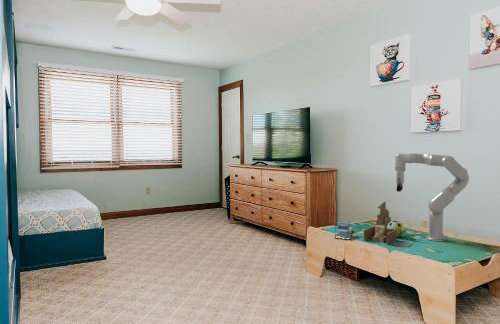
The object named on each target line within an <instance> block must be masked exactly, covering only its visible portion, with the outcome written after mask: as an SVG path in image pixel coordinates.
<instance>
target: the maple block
mask: <svg viewBox="0 0 500 324" xmlns="http://www.w3.org/2000/svg"><path fill="white" fill-rule="evenodd" d="M384 231H385V226H381V225H377V226H376V225H375V237H380V238H382V237H384Z"/></svg>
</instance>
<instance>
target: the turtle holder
mask: <svg viewBox="0 0 500 324" xmlns="http://www.w3.org/2000/svg"><path fill="white" fill-rule="evenodd" d="M391 223H392V224H391ZM387 228H389V229H396V230H397V237H402V238H405V236H406V232H407V228H406V227H405V226H404V224H403V223H402V222H401V221H399V220H392V221H391V222H390V223H389V224H388V226H387Z"/></svg>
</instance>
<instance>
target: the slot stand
mask: <svg viewBox="0 0 500 324" xmlns="http://www.w3.org/2000/svg"><path fill="white" fill-rule="evenodd" d="M375 226H376V225H375ZM375 226H374V225H372V226H369V227H368V228H365V229H364V230H363V241H364V242H365V241H368V240H370V239H372V241H373V242H377V243H385V242H386V243H385V244H386V246H389V245H391V244H392V243H395V242H396V241H397V238H398V236H397V230H396V229H389V228H385V231H384V237H382V238H380V237H375Z"/></svg>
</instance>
